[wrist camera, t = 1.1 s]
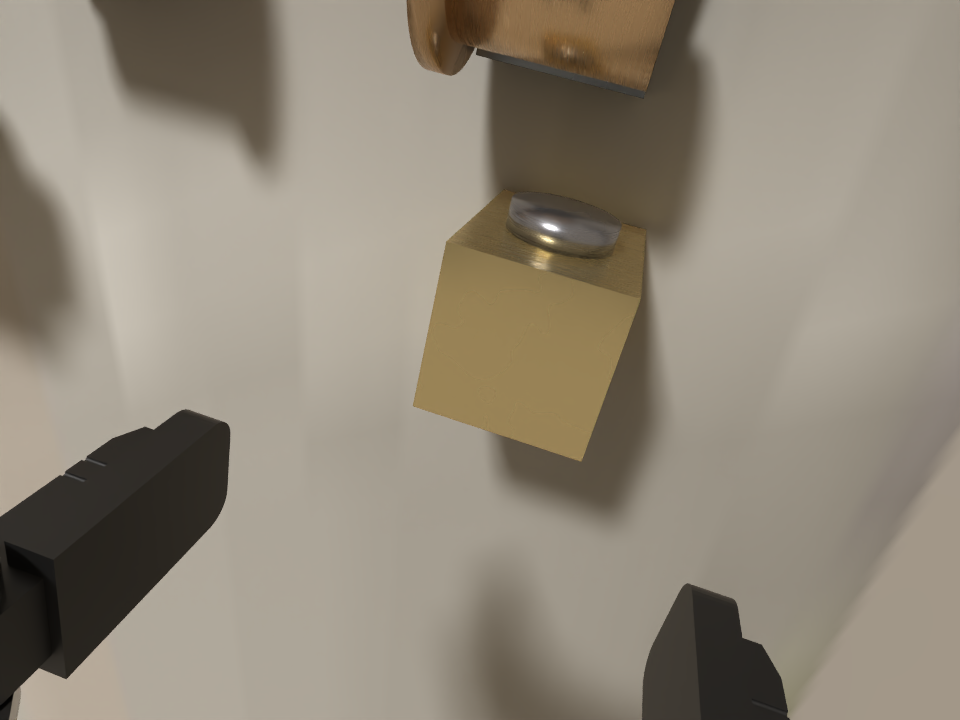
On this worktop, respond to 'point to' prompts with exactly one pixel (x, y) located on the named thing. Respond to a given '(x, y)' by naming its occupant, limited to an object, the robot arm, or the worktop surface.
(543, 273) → the block
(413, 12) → the pipe stubs
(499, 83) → the worktop surface
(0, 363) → the worktop surface
